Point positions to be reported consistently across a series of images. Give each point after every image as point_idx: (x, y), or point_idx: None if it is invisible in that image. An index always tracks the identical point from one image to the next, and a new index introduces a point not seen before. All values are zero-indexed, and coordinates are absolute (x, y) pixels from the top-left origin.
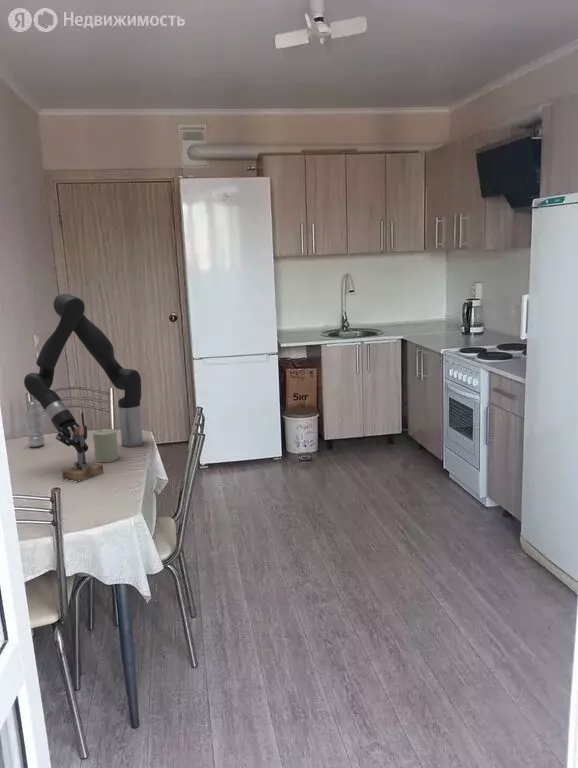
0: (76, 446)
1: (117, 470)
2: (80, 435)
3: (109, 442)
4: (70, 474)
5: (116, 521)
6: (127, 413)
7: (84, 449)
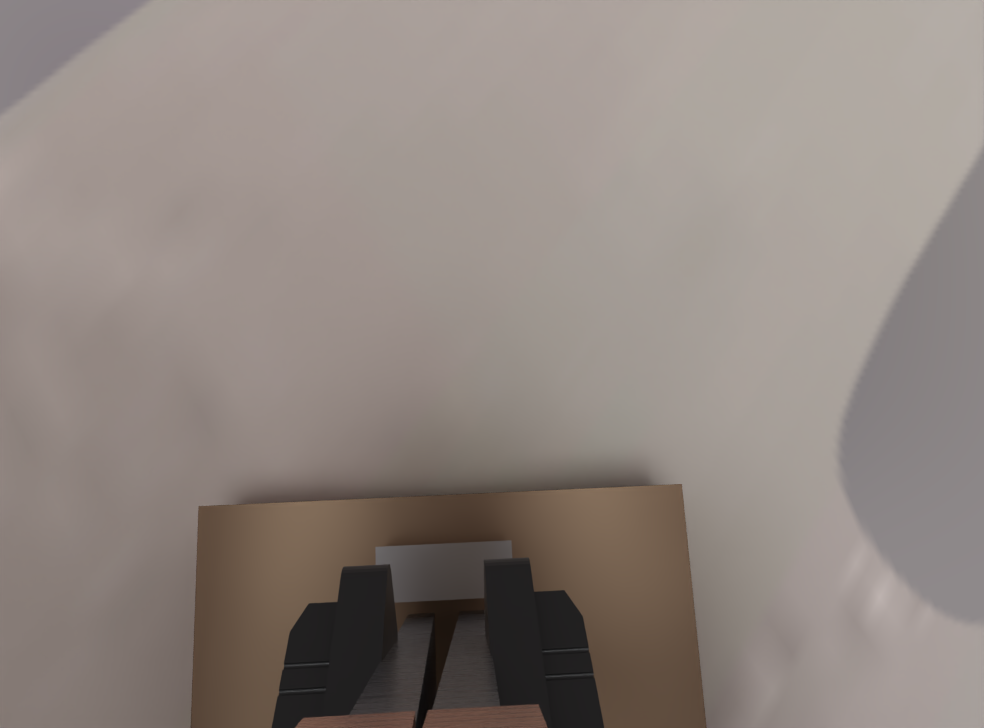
0: (601, 714)
1: (72, 426)
2: (485, 714)
3: None
4: (690, 619)
5: None
6: None
7: (395, 648)
